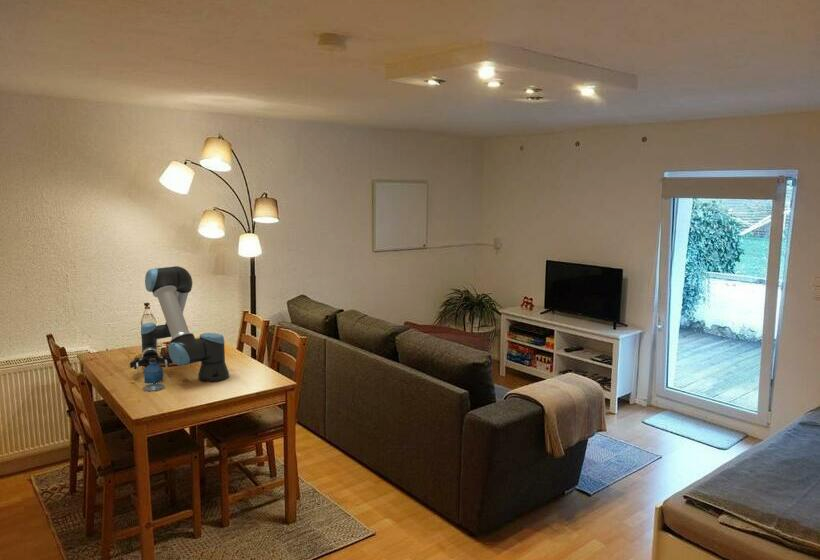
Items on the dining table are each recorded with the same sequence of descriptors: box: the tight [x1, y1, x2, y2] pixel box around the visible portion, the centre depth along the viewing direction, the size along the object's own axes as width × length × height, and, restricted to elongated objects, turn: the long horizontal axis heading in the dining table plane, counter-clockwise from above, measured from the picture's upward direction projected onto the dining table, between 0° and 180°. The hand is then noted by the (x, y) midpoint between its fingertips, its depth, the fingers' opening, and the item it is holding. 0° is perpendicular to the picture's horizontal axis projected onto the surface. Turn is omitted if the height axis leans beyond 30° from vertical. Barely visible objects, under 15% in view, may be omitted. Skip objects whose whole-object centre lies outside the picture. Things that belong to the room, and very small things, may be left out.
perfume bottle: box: [143, 358, 164, 384], centre depth 297 cm, size 6×6×12 cm
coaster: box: [141, 383, 165, 393], centre depth 288 cm, size 10×10×1 cm
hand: (152, 367), depth 299 cm, fingers open, 13 cm apart
